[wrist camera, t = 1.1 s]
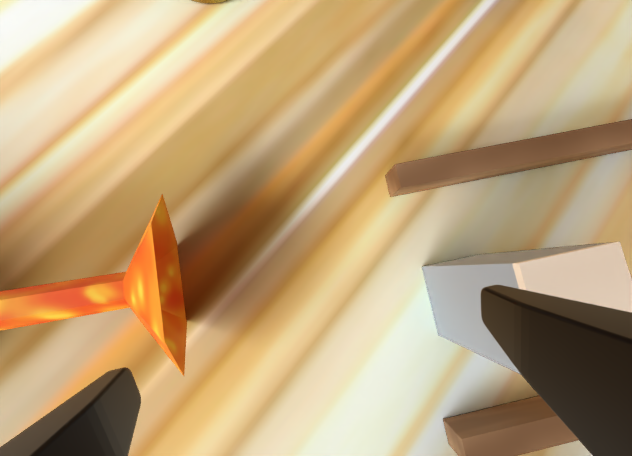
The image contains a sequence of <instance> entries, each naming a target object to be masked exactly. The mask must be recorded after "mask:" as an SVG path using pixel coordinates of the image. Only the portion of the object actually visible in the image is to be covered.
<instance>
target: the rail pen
mask: <svg viewBox="0 0 632 456" xmlns="http://www.w3.org/2000/svg"><path fill="white" fill-rule="evenodd" d="M627 150H632V119H630V120H625V121H620V122H615V123H609V124H604V125H599V126H594V127H588V128H583V129H578V130H573V131H567V132H562V133H557V134H552V135H546V136H541V137H536V138H531V139H525V140H520V141H515V142H510V143H504V144H499V145H494V146H488V147H483V148H478V149H473V150H467V151H462V152H457V153H452V154H446V155H441V156H436V157H431V158H425V159H420V160H415V161H410V162H404V163H399V164H395V165H394V166H393V167H392V169H391V170H390V171H389V172H388V173H387V174H386V176H385V177H386V181H387V185H388V190H389V194H390V197H392V196H398V195H403V194H408V193H413V192H418V191H423V190H428V189H433V188H438V187H443V186H448V185H453V184H459V183H464V182H469V181H474V180H479V179H484V178H489V177H494V176H499V175H504V174H509V173H515V172H520V171H525V170H530V169H535V168H540V167H545V166H550V165H555V164H560V163H565V162H571V161H576V160H581V159H586V158H591V157H596V156H601V155H606V154H611V153H616V152H621V151H627ZM443 422H444V426H445V430H446V434H447V439H448V443H449V445H450V446H451V447H452V449H453V450H454V451H455V452H456V453H457V454H458V456H517V455H521V454H525V453H529V452H533V451H537V450H541V449H545V448H549V447H553V446H557V445H561V444H565V443H569V442H573V441H577V440H579V439H578V438H577V437H576V436H575V435H574V434H573V433H572V432H571V430H570V429H569V428H568V427H567V426H566V425H565V424H564V423H563V421H562V420H561V419H560V418H559V417H558V416H557V415H556V414H555V412H554V411H553V410H552V409H551V408H550V407H549V406H548V405H547V403H546V402H545V401H544V400H543V399H542V398H541V397H540V396H536V397H532V398H528V399H524V400H519V401H515V402H511V403H507V404H503V405H499V406H495V407H491V408H486V409H482V410H478V411H474V412H470V413H466V414H462V415H458V416H453V417H449V418H445V419H443Z"/></svg>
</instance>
